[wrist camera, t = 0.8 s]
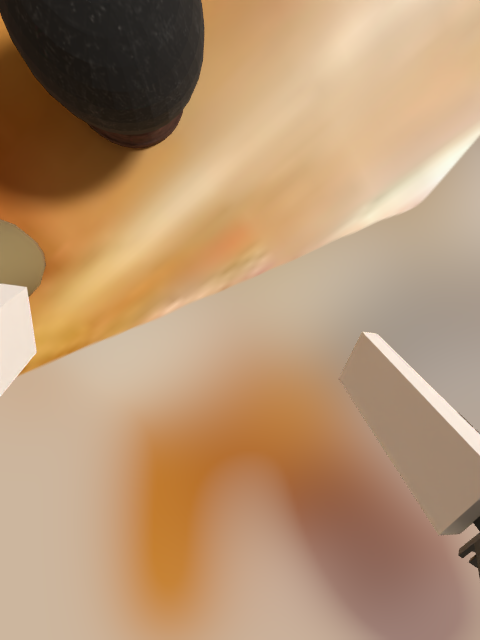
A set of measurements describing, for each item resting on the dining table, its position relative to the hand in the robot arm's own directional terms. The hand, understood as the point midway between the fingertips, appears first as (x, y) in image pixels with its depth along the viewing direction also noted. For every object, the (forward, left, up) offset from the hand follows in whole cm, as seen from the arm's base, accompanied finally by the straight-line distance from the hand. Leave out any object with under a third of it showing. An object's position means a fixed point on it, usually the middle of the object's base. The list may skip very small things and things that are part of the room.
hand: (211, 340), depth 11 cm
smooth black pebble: (-19, -3, -25) cm, 31 cm away
